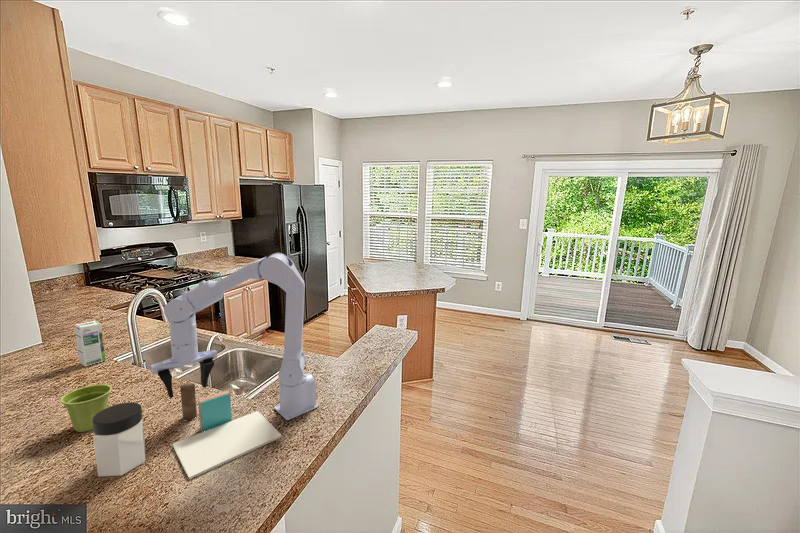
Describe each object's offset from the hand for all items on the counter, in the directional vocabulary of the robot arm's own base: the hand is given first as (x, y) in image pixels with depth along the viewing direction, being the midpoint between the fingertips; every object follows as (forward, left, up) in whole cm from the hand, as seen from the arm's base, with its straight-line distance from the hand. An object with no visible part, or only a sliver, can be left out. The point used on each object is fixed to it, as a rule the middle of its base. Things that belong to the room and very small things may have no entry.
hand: (187, 391), depth 90 cm
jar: (+15, +9, -8) cm, 19 cm away
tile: (-4, +8, -8) cm, 12 cm away
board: (-4, +17, -8) cm, 19 cm away
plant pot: (+19, -13, -8) cm, 24 cm away
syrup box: (+16, -59, -8) cm, 62 cm away
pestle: (0, 0, -8) cm, 8 cm away
